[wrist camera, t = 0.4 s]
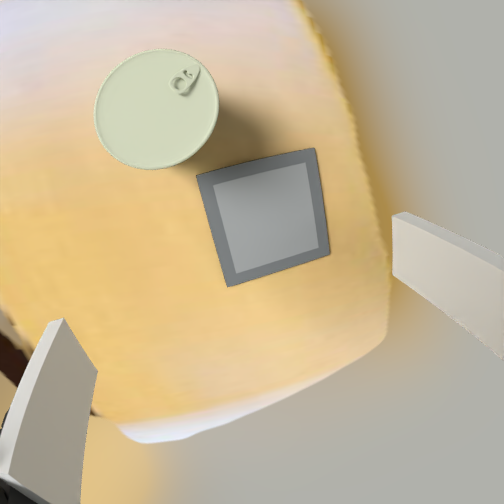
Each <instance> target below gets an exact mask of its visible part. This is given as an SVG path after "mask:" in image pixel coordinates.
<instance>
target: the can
mask: <svg viewBox="0 0 504 504" xmlns="http://www.w3.org/2000/svg"><path fill="white" fill-rule="evenodd" d="M218 113H219V95H218V90H217V87H216V84H215V82H214V79H213V78H212V76H211V74H210V73H209V71H208V70H207V69H206V68H205V67H204V66H203V65H202V64H201V63H200V62H199V61H198V60H196V59H195V58H193V57H191V56H190V55H188V54H185V53H183V52H179V51H176V50H170V49H154V50H148V51H144V52H141V53H138V54H135V55H133V56H131V57H129V58H127V59H126V60H124V61H123V62H121V63H120V64H119V65H117V66H116V67H115V68H114V69H113V70H112V71H111V72H110V73H109V75H108V76H107V77H106V79H105V80H104V82H103V83H102V85H101V87H100V89H99V91H98V94H97V97H96V100H95V105H94V125H95V129H96V132H97V135H98V137H99V140H100V141H101V143H102V145H103V146H104V148H105V149H106V150H107V151H108V152H109V153H110V154H111V155H112V156H113V157H114V158H115V159H117V160H118V161H120V162H122V163H123V164H126V165H128V166H131V167H134V168H138V169H144V170H158V169H164V168H168V167H172V166H174V165H177V164H179V163H181V162H183V161H185V160H187V159H188V158H190V157H191V156H193V155H194V154H195V153H196V152H197V151H198V150H199V149H200V148H201V147H202V146H203V145H204V144H205V143H206V141H207V140H208V138H209V137H210V135H211V133H212V132H213V129H214V127H215V125H216V122H217V118H218Z"/></svg>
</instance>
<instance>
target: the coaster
mask: <svg viewBox="0 0 504 504" xmlns="http://www.w3.org/2000/svg"><path fill="white" fill-rule="evenodd" d="M196 177H197V181H198V185H199V189H200V192H201V196H202V200H203V204H204V207H205V211H206V215H207V218H208V222H209V225H210V229H211V233H212V236H213V240H214V243H215V247H216V250H217V254H218V257H219V261H220V264H221V268H222V271H223V274H224V278H225V281H226V285H227V287H230V286H234V285H237V284H240V283H243V282H246V281H250V280H253V279H256V278H259V277H262V276H265V275H268V274H272V273H275V272H278V271H281V270H284V269H287V268H290V267H293V266H296V265H299V264H302V263H305V262H308V261H311V260H314V259H317V258H320V257H323V256H326V255H329V254H330V252H329V243H328V235H327V227H326V219H325V212H324V205H323V198H322V191H321V184H320V178H319V172H318V166H317V160H316V154H315V149H314V148H309V149H304V150H299V151H294V152H289V153H284V154H280V155H275V156H271V157H266V158H262V159H257V160H253V161H249V162H245V163H241V164H237V165H233V166H229V167H225V168H221V169H218V170H214V171H210V172H206V173H203V174H199V175H196Z"/></svg>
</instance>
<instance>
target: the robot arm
mask: <svg viewBox="0 0 504 504" xmlns="http://www.w3.org/2000/svg"><path fill="white" fill-rule="evenodd" d="M392 233H393V234H392V236H393V272H392V275H393V276H395V277H396V278H398V279H399V280H401V281H402V282H403V283H405V284H406V285H407V286H409V287H410V288H411V289H413V290H414V291H416V292H417V293H418V294H420V295H421V296H423V297H424V298H425V299H426V300H428V301H429V302H431V303H432V304H433V305H435V306H436V307H437V308H439V309H440V310H441V311H442V312H444V313H445V314H446V315H448V316H449V317H450V318H451V319H453V320H454V321H455V322H457V323H458V324H459V325H460V326H462V327H463V328H464V329H465V330H467V331H468V332H469V333H471V334H472V335H473V336H474V337H476V338H477V339H478V340H479V341H480V342H482V343H483V344H484V345H485V346H487V347H488V348H489V349H490V350H491V351H493V352H494V353H495V354H496V355H497V356H498V357H500V358H501V359H502V360H503V361H504V257H503V256H501V255H499V254H497V253H495V252H493V251H491V250H489V249H487V248H485V247H483V246H481V245H479V244H477V243H475V242H473V241H471V240H469V239H467V238H465V237H463V236H461V235H459V234H456V233H454V232H452V231H450V230H448V229H445V228H443V227H441V226H439V225H436V224H434V223H432V222H430V221H427V220H425V219H423V218H420V217H418V216H415V215H413V214H411V213H408V212H406V211H405V212H402V213H399V214H395V215H393V216H392ZM97 373H98V371H97V369H96V368H95V366H94V365H93V363H92V362H91V360H90V359H89V358H88V356H87V354H86V353H85V351H84V350H83V348H82V347H81V345H80V344H79V342H78V340H77V339H76V337H75V336H74V334H73V332H72V331H71V329H70V327H69V326H68V324H67V322H66V320H65V319H64V318H61V319H58V320H55V321H51V322H49V323H48V325H47V327H46V329H45V331H44V333H43V335H42V337H41V339H40V341H39V343H38V345H37V347H36V349H35V351H34V353H33V355H32V357H31V359H30V361H29V364H28V366H27V368H26V370H25V372H24V375H23V377H22V379H21V382H20V384H19V386H18V389H17V392H16V394H15V396H14V399H13V401H12V404H11V407H10V408H9V410H8V411H7V413H6V414H5V417H4V420H3V423H2V429H0V504H80V495H81V481H82V480H81V479H82V468H83V458H84V449H85V442H86V434H87V427H88V420H89V415H90V409H91V403H92V397H93V392H94V387H95V382H96V377H97Z"/></svg>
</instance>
